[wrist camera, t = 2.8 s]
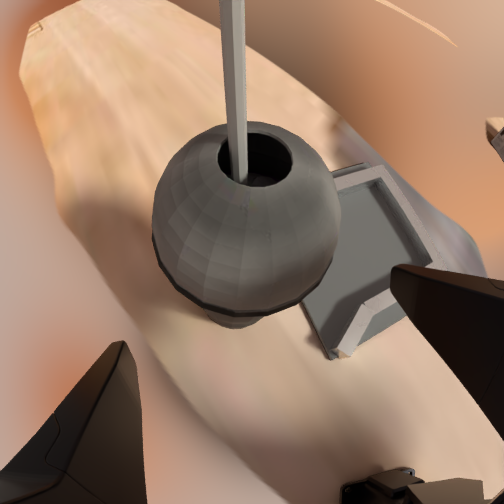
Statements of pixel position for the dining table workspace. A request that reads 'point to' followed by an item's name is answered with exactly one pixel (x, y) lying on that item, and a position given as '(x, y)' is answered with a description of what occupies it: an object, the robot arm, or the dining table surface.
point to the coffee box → (499, 143)
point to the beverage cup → (244, 207)
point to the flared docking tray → (413, 232)
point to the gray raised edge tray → (359, 265)
